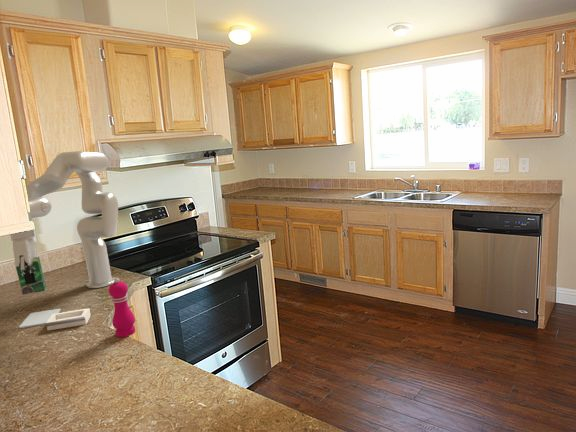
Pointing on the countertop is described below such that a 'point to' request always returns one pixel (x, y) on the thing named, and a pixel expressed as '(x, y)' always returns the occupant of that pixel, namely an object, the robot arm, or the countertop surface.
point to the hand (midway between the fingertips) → (32, 281)
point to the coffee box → (39, 278)
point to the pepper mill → (121, 309)
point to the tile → (38, 318)
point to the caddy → (68, 319)
